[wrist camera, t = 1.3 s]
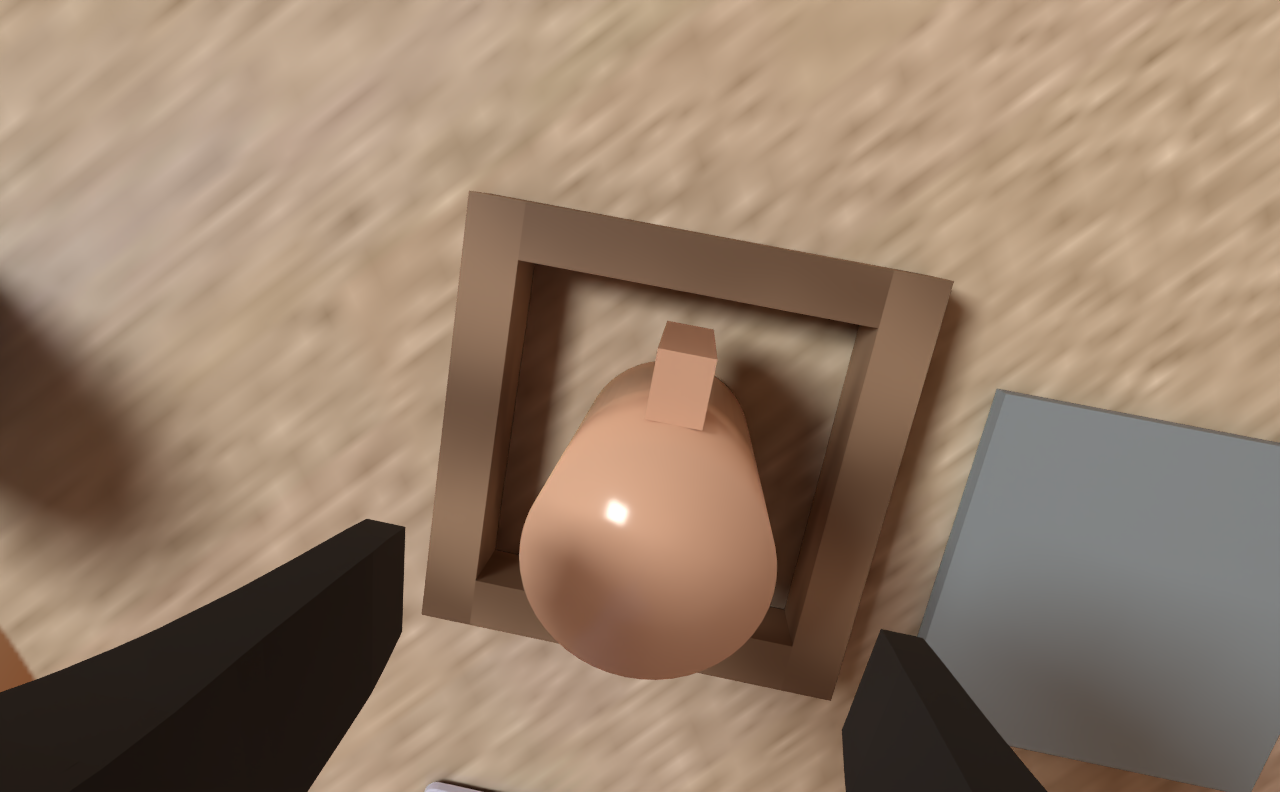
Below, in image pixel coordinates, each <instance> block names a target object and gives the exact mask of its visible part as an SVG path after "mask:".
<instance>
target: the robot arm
mask: <svg viewBox="0 0 1280 792" xmlns="http://www.w3.org/2000/svg"><path fill="white" fill-rule="evenodd" d="M404 552H405V527H403V526H398V525H394V524H389V523H384V522H380V521H375V520H370V519H365V520H363V521H362V522H360V523H358V524H356V525H354V526H352V527H350V528H348V529H346V530H345V531H343V532H341V533H339V534H337V535H335V536H334V537H332V538H330V539H328V540H327V541H325V542H323V543H321V544H319V545H318V546H316V547H314V548H312V549H311V550H309V551H307V552H305V553H303V554H302V555H300V556H298V557H296V558H294V559H293V560H291V561H289V562H287V563H285V564H283V565H282V566H280V567H278V568H276V569H274V570H272V571H271V572H269V573H267V574H265V575H263V576H261V577H260V578H258V579H256V580H254V581H252V582H250V583H248V584H247V585H245V586H243V587H241V588H239V589H237V590H235V591H233V592H231V593H229V594H227V595H225V596H223V597H221V598H219V599H217V600H215V601H213V602H211V603H209V604H207V605H205V606H203V607H201V608H199V609H197V610H195V611H193V612H191V613H189V614H187V615H185V616H183V617H181V618H179V619H177V620H175V621H173V622H171V623H169V624H167V625H165V626H163V627H161V628H158V629H156V630H154V631H152V632H150V633H147V634H145V635H143V636H141V637H139V638H136V639H134V640H132V641H130V642H127V643H125V644H123V645H120V646H118V647H116V648H114V649H111V650H109V651H106V652H104V653H102V654H99V655H97V656H94V657H92V658H89V659H87V660H85V661H82V662H80V663H77V664H75V665H72V666H70V667H68V668H65V669H63V670H60V671H58V672H55V673H52V674H50V675H47V676H45V677H42V678H40V679H37V680H34V681H31V682H28V683H25V684H23V685H20V686H17V687H14V688H11V689H9V690H6V691H3V692H0V792H308V790H309V789H310V787H311V785H312V784H313V782H314V781H315V779H316V778H317V776H318V775H319V773H320V772H321V770H322V769H323V767H324V766H325V764H326V763H327V761H328V760H329V758H330V757H331V755H332V754H333V752H334V751H335V749H336V748H337V746H338V745H339V743H340V741H341V740H342V738H343V737H344V735H345V734H346V732H347V731H348V729H349V728H350V726H351V725H352V723H353V721H354V720H355V718H356V717H357V715H358V714H359V712H360V711H361V709H362V708H363V706H364V704H365V703H366V701H367V700H368V698H369V697H370V695H371V693H372V691H373V689H374V688H375V686H376V684H377V682H378V680H379V678H380V676H381V674H382V672H383V670H384V668H385V666H386V664H387V662H388V660H389V658H390V656H391V654H392V652H393V649H394V647H395V645H396V643H397V641H398V639H399V637H400V635H401V633H402V616H403V584H404ZM842 739H843V757H844V773H845V786H846V792H1047V791H1046V790H1045V788H1044V787H1043V786H1042V785H1041V784H1040V783H1039V781H1038V780H1037V779H1036V778H1035V777H1034V775H1033V774H1032V773H1031V772H1030V771H1029V769H1028V768H1027V767H1026V766H1025V765H1024V763H1023V762H1022V761H1021V760H1020V759H1019V757H1018V756H1017V755H1016V754H1015V753H1014V751H1013V750H1012V749H1011V748H1010V746H1009V745H1008V744H1007V743H1006V741H1005V740H1004V739H1003V738H1002V737H1001V735H1000V734H999V733H998V732H997V730H996V729H995V728H994V727H993V725H992V724H991V723H990V722H989V720H988V719H987V718H986V717H985V715H984V714H983V713H982V711H981V710H980V709H979V708H978V706H977V705H976V704H975V703H974V701H973V700H972V699H971V697H970V696H969V695H968V694H967V692H966V691H965V690H964V689H963V687H962V686H961V685H960V683H959V682H958V681H957V680H956V678H955V677H954V676H953V675H952V673H951V672H950V671H949V669H948V668H947V667H946V666H945V664H944V663H943V662H942V661H941V659H940V658H939V657H938V656H937V654H936V653H935V652H934V651H933V649H932V648H931V647H930V646H929V645H928V643H927V642H926V641H925V640H924V639H923V638H920V637H915V636H911V635H906V634H901V633H897V632H892V631H887V630H883V629H881V630H880V633H879V636H878V638H877V641H876V643H875V646H874V648H873V651H872V654H871V656H870V659H869V661H868V664H867V667H866V669H865V672H864V674H863V677H862V680H861V682H860V685H859V687H858V690H857V692H856V695H855V698H854V700H853V703H852V705H851V708H850V711H849V713H848V716H847V718H846V721H845V723H844V726H843V729H842ZM424 792H482V791H477V790H473V789H468V788H464V787H459V786H455V785H450V784H445V783H441V782H433V783H430V784H429V785H428V786H427V787H426V789H425V791H424Z"/></svg>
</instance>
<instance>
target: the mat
mask: <svg viewBox="0 0 1280 792" xmlns="http://www.w3.org/2000/svg"><path fill="white" fill-rule="evenodd" d="M917 637H920V638H923V639H924V640H925V641H926V642H927V643H928V645H929V646H930V647H931V648H932V649H933V651H934V652H935V653H936V654H937V656H938V657H939V658H940V659H941V661H942V662H943V663H944V664H945V666H946V667H947V668H948V669H949V671H950V672H951V673H952V675H953V676H954V677H955V678H956V680H957V681H958V682H959V683H960V685H961V686H962V687H963V689H964V690H965V691H966V692H967V694H968V695H969V696H970V697H971V699H972V700H973V701H974V703H975V704H976V705H977V706H978V708H979V709H980V710H981V711H982V713H983V714H984V715H985V717H986V718H987V719H988V720H989V722H990V723H991V724H992V725H993V727H994V728H995V729H996V730H997V732H998V733H999V734H1000V735H1001V737H1002V738H1003V739H1004V740H1005V741H1006V743H1007V744H1008V745H1009V746H1012V747H1017V748H1022V749H1026V750H1031V751H1036V752H1041V753H1045V754H1050V755H1055V756H1060V757H1064V758H1069V759H1074V760H1078V761H1083V762H1088V763H1093V764H1097V765H1102V766H1107V767H1112V768H1116V769H1121V770H1126V771H1131V772H1135V773H1140V774H1145V775H1149V776H1154V777H1159V778H1164V779H1168V780H1173V781H1178V782H1183V783H1187V784H1192V785H1197V786H1202V787H1206V788H1211V789H1216V790H1220V791H1225V792H1251V791H1252V789H1253V787H1254V785H1255V783H1256V781H1257V779H1258V777H1259V775H1260V773H1261V771H1262V769H1263V767H1264V765H1265V763H1266V761H1267V759H1268V757H1269V755H1270V753H1271V751H1272V749H1273V747H1274V745H1275V743H1276V741H1277V739H1278V737H1279V735H1280V443H1277V442H1272V441H1267V440H1262V439H1256V438H1251V437H1246V436H1241V435H1236V434H1230V433H1225V432H1220V431H1215V430H1210V429H1204V428H1199V427H1194V426H1189V425H1183V424H1178V423H1173V422H1168V421H1163V420H1157V419H1152V418H1147V417H1142V416H1137V415H1131V414H1126V413H1121V412H1116V411H1111V410H1105V409H1100V408H1095V407H1090V406H1085V405H1079V404H1074V403H1069V402H1064V401H1058V400H1053V399H1048V398H1043V397H1038V396H1032V395H1027V394H1022V393H1017V392H1012V391H1006V390H1001V389H997V390H996V393H995V397H994V400H993V403H992V406H991V409H990V412H989V415H988V418H987V421H986V425H985V428H984V431H983V434H982V437H981V440H980V443H979V446H978V449H977V452H976V456H975V459H974V462H973V465H972V468H971V471H970V474H969V477H968V480H967V484H966V487H965V490H964V493H963V496H962V499H961V502H960V505H959V508H958V512H957V515H956V518H955V521H954V524H953V527H952V530H951V533H950V536H949V540H948V543H947V546H946V549H945V552H944V555H943V558H942V561H941V564H940V568H939V571H938V574H937V577H936V580H935V583H934V586H933V589H932V592H931V596H930V599H929V602H928V605H927V608H926V611H925V614H924V617H923V620H922V623H921V627H920V630H919V633H918V636H917Z"/></svg>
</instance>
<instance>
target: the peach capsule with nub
mask: <svg viewBox="0 0 1280 792" xmlns="http://www.w3.org/2000/svg"><path fill="white" fill-rule="evenodd" d="M716 364H717V352H716V344H715V335H714V330H713V329H708V328H703V327H697V326H692V325H687V324H682V323H676V322H671V321H667V323H666V326H665V329H664V332H663V335H662V338H661V341H660V344H659V347H658V351H657V356H656V361H655V362H648V363H644V364H641V365H637V366H635V367H633V368H630V369H628V370H626V371H625V372H623V373H621V374H619V375H618V376H617V377H615V378H614V379H613V380H611V381H610V382H609V383H608V384H607V385H606V386H605V387H604V388H603V390H602V391H601V392H600V394H599V395H598V396H597V398H596V400H595V401H594V403H593V405H592V406H591V408H590V410H589V411H588V413H587V415H586V416H585V418H584V420H583V421H582V423H581V425H580V426H579V428H578V430H577V431H576V433H575V435H574V436H573V438H572V440H571V441H570V443H569V445H568V446H567V448H566V450H565V451H564V453H563V455H562V457H561V458H560V460H559V462H558V463H557V465H556V467H555V468H554V470H553V472H552V473H551V475H550V477H549V478H548V480H547V482H546V483H545V485H544V487H543V488H542V490H541V492H540V493H539V495H538V497H537V498H536V500H535V502H534V504H533V506H532V507H531V509H530V511H529V513H528V516H527V519H526V521H525V524H524V527H523V531H522V536H521V540H520V552H519V561H520V573H521V578H522V583H523V587H524V590H525V593H526V596H527V598H528V601H529V603H530V605H531V607H532V609H533V611H534V613H535V615H536V616H537V618H538V619H539V621H540V622H541V624H542V625H543V627H544V628H545V629H546V630H547V631H548V632H549V634H550V635H551V636H552V637H553V638H554V639H555V640H556V641H557V642H558V643H559V644H560V645H562V646H563V647H564V648H565V649H566V650H567V651H569V652H570V653H572V654H573V655H575V656H576V657H577V658H579V659H581V660H582V661H584V662H586V663H588V664H590V665H592V666H594V667H596V668H599V669H601V670H604V671H606V672H609V673H612V674H616V675H620V676H624V677H630V678H636V679H650V680H659V679H672V678H677V677H682V676H688V675H691V674H694V673H697V672H700V671H703V670H705V669H707V668H710V667H712V666H714V665H716V664H718V663H720V662H721V661H723V660H724V659H726V658H728V657H729V656H731V655H732V654H733V653H734V652H736V651H737V650H738V649H739V648H740V647H742V646H743V645H744V644H745V643H746V641H747V640H748V639H749V638H750V637H751V636H752V635H753V634H754V632H755V631H756V629H757V628H758V627H759V625H760V624H761V622H762V621H763V619H764V617H765V615H766V613H767V611H768V609H769V606H770V603H771V600H772V597H773V594H774V590H775V584H776V578H777V557H776V548H775V543H774V539H773V534H772V530H771V526H770V521H769V517H768V513H767V508H766V504H765V500H764V495H763V491H762V487H761V482H760V478H759V474H758V469H757V465H756V460H755V456H754V452H753V447H752V443H751V439H750V434H749V430H748V426H747V422H746V418H745V415H744V413H743V410H742V408H741V406H740V404H739V402H738V401H737V399H736V397H735V396H734V395H733V393H732V392H731V391H730V389H729V388H728V387H727V386H726V385H725V384H724V383H723V382H722V381H720V380H719V379H718V378H716V377H715V376H714V374H715V369H716Z"/></svg>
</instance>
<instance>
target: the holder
mask: <svg viewBox="0 0 1280 792" xmlns="http://www.w3.org/2000/svg"><path fill="white" fill-rule="evenodd" d="M535 263H537V264H542V265H547V266H553V267H558V268H563V269H568V270H574V271H579V272H584V273H589V274H595V275H600V276H605V277H611V278H616V279H621V280H626V281H632V282H637V283H642V284H647V285H653V286H658V287H663V288H668V289H674V290H679V291H684V292H689V293H695V294H700V295H705V296H711V297H716V298H721V299H726V300H732V301H737V302H742V303H747V304H753V305H758V306H763V307H768V308H774V309H779V310H784V311H789V312H795V313H800V314H805V315H811V316H816V317H821V318H826V319H832V320H837V321H842V322H847V323H853V324H858V325H859V328H858V332H857V336H856V340H855V343H854V347H853V351H852V355H851V359H850V362H849V366H848V370H847V374H846V378H845V381H844V385H843V389H842V393H841V397H840V401H839V404H838V408H837V412H836V416H835V420H834V423H833V427H832V431H831V435H830V439H829V442H828V446H827V450H826V454H825V458H824V461H823V465H822V469H821V473H820V477H819V480H818V484H817V488H816V492H815V496H814V499H813V503H812V507H811V511H810V515H809V518H808V522H807V526H806V530H805V534H804V538H803V541H802V545H801V549H800V553H799V557H798V560H797V564H796V568H795V572H794V576H793V579H792V583H791V587H790V591H789V595H788V598H787V602H786V606H785V610H783V609H778V608H774V607H769V609H768V611H767V613H766V615H765V617H764V619H763V621H762V622H761V624H760V625H759V627H758V628H757V629H756V631H755V632H754V634H753V635H752V636H751V637H750V638H749V639H748V640H747V641H746V643H745V644H744V645H743V646H742V647H740V648H739V649H738V650H737V651H736V652H734V653H733V654H732V655H731V656H729V657H728V658H726V659H724V660H723V661H721V662H720V663H718V664H716V665H714V666H712V667H710V668H707V669H705V670H703V671H700V672H697V673H702V674H706V675H711V676H716V677H720V678H725V679H730V680H735V681H739V682H744V683H749V684H754V685H758V686H763V687H768V688H773V689H777V690H782V691H787V692H792V693H796V694H801V695H806V696H811V697H815V698H820V699H825V700H830V701H831V699H832V695H833V692H834V689H835V685H836V682H837V678H838V675H839V671H840V668H841V665H842V661H843V658H844V654H845V651H846V648H847V644H848V641H849V637H850V634H851V631H852V627H853V624H854V620H855V617H856V613H857V610H858V607H859V603H860V600H861V596H862V593H863V590H864V586H865V583H866V579H867V576H868V573H869V569H870V566H871V562H872V559H873V555H874V552H875V549H876V545H877V542H878V538H879V535H880V532H881V528H882V525H883V521H884V518H885V515H886V511H887V508H888V504H889V501H890V498H891V494H892V491H893V487H894V484H895V480H896V477H897V474H898V470H899V467H900V463H901V460H902V457H903V453H904V450H905V446H906V443H907V440H908V436H909V433H910V429H911V426H912V422H913V419H914V416H915V412H916V409H917V405H918V402H919V399H920V395H921V392H922V388H923V385H924V382H925V378H926V375H927V371H928V368H929V364H930V361H931V358H932V354H933V351H934V347H935V344H936V341H937V337H938V334H939V330H940V327H941V324H942V320H943V317H944V313H945V310H946V306H947V303H948V300H949V296H950V293H951V289H952V286H953V283H954V281H951V280H946V279H942V278H937V277H933V276H929V275H923V274H918V273H913V272H907V271H902V270H897V269H891V268H886V267H881V266H875V265H870V264H864V263H859V262H854V261H848V260H843V259H838V258H832V257H827V256H822V255H816V254H811V253H805V252H800V251H795V250H789V249H784V248H779V247H773V246H768V245H763V244H757V243H752V242H747V241H741V240H736V239H730V238H725V237H720V236H714V235H709V234H704V233H698V232H693V231H688V230H682V229H677V228H671V227H666V226H661V225H655V224H650V223H645V222H639V221H634V220H629V219H623V218H618V217H613V216H607V215H602V214H596V213H591V212H586V211H580V210H575V209H570V208H564V207H559V206H554V205H548V204H543V203H537V202H532V201H527V200H521V199H516V198H511V197H505V196H500V195H495V194H488V193H481V192H474V191H469V196H468V205H467V214H466V223H465V232H464V241H463V249H462V258H461V267H460V276H459V285H458V294H457V303H456V312H455V321H454V330H453V339H452V348H451V357H450V366H449V375H448V384H447V392H446V401H445V410H444V419H443V428H442V437H441V446H440V455H439V464H438V473H437V482H436V491H435V500H434V509H433V518H432V527H431V535H430V544H429V553H428V562H427V571H426V580H425V589H424V598H423V607H422V615H426V616H431V617H436V618H441V619H445V620H450V621H455V622H460V623H464V624H469V625H474V626H479V627H483V628H488V629H493V630H498V631H502V632H507V633H512V634H517V635H521V636H526V637H531V638H536V639H540V640H545V641H550V642H554V643H558V642H557V641H556V640H555V639H554V638H553V637H552V636H551V635H550V634H549V632H548V631H547V630H546V629H545V628H544V627H543V625H542V624H541V622H540V621H539V619H538V618H537V616H536V615H535V613H534V611H533V609H532V607H531V605H530V603H529V601H528V598H527V596H526V593H525V590H524V587H523V583H522V578H521V573H520V561H519V555H517V554H512V553H507V552H502V551H497V550H495V546H496V539H497V532H498V524H499V517H500V510H501V503H502V496H503V488H504V481H505V474H506V467H507V460H508V452H509V445H510V438H511V431H512V423H513V416H514V409H515V402H516V395H517V387H518V380H519V373H520V366H521V359H522V351H523V344H524V337H525V330H526V323H527V315H528V308H529V301H530V294H531V287H532V279H533V272H534V265H535Z"/></svg>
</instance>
